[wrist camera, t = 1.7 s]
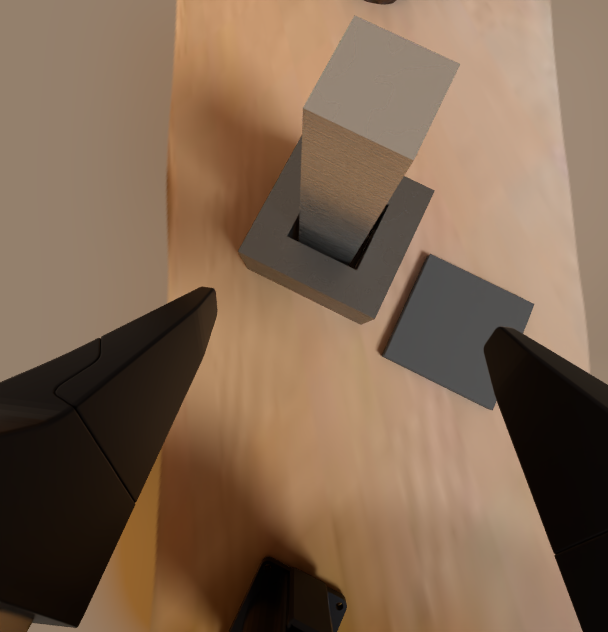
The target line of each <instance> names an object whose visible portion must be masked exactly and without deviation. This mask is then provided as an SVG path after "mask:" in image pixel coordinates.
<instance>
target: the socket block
mask: <svg viewBox="0 0 608 632" xmlns="http://www.w3.org/2000/svg"><path fill="white" fill-rule="evenodd" d="M301 155H302V136H301V138H300V140H299V141H298V143H297V145H296V147H295V149H294V151H293V152H292V154H291V156H290V158H289V160H288V161H287V163H286V165H285V167H284V169H283V171H282V172H281V174H280V176H279V178H278V180H277V181H276V183H275V185H274V187H273V189H272V191H271V192H270V194H269V196H268V198H267V200H266V201H265V203H264V205H263V207H262V209H261V211H260V212H259V214H258V216H257V218H256V220H255V221H254V223H253V225H252V227H251V229H250V231H249V232H248V234H247V236H246V238H245V240H244V241H243V243H242V245H241V247H240V249H239V251H238V252H239V254H240V256H241V258H242V259H243V261H244V263H245V265H246V266H247V268H248V269H249V270H251V271H253V272H255V273H257V274H259V275H262V276H264V277H266V278H268V279H270V280H272V281H274V282H276V283H278V284H280V285H282V286H284V287H286V288H288V289H290V290H292V291H294V292H296V293H298V294H300V295H302V296H304V297H306V298H308V299H310V300H312V301H314V302H316V303H318V304H320V305H322V306H324V307H326V308H328V309H330V310H332V311H334V312H336V313H338V314H340V315H342V316H344V317H346V318H348V319H350V320H352V321H355V322H357V323H359V324H364V323H366V322H369V321H371V320H373V319H375V317H376V315H377V313H378V311H379V309H380V307H381V304H382V302H383V300H384V298H385V296H386V294H387V292H388V289H389V287H390V285H391V283H392V281H393V279H394V277H395V274H396V272H397V270H398V268H399V266H400V264H401V262H402V259H403V257H404V255H405V253H406V251H407V249H408V247H409V244H410V242H411V240H412V238H413V236H414V234H415V232H416V229H417V227H418V225H419V223H420V221H421V219H422V217H423V214H424V212H425V210H426V208H427V206H428V204H429V202H430V199H431V197H432V195H433V193H434V190H432V189H430V188H428V187H426V186H424V185H422V184H420V183H418V182H415V181H413V180H411V179H409V178H407V177H405V176H404V177H403V178H402V180H401V182H400V183H399V185H398V186H397V188H396V190H395V191H394V193H393V195H392V196H391V198H390V199H389V201H388V203H387V204H386V206H385V208H384V209H383V211H382V212H381V214H380V216H379V217H378V219H377V220H376V222H375V224H374V225H373V227H372V229H373V231H372V233H371V235H370V237H369V240H368V242H367V244H366V246H365V248H364V250H363V252H362V254H361V256H360V258H359V260H358V262H357V264H356V266H355V268H354V269H353V268H351V267H349V266H347V265H345V264H343V263H341V262H338V261H336V260H334V259H332V258H330V257H328V256H326V255H324V254H322V253H320V252H318V251H316V250H314V249H312V248H310V247H308V246H306V245H304V244H302V243H300V242H298V241H297V239H298V237H299V218H300V186H301Z"/></svg>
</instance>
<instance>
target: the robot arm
mask: <svg viewBox="0 0 608 632" xmlns="http://www.w3.org/2000/svg"><path fill="white" fill-rule="evenodd" d="M216 317H217V300H216V291H215V289H214V288H209V287H199V288H197V289H195V290H193V291H191V292H189V293H187V294H185V295H183V296H181V297H179V298H177V299H175V300H174V301H172V302H170V303H168V304H166V305H164V306H162V307H160V308H158V309H156V310H154V311H152V312H150V313H148V314H146V315H144V316H142V317H140V318H138V319H136V320H134V321H132V322H130V323H128V324H126V325H124V326H122V327H120V328H118V329H116V330H114V331H112V332H110V333H107V334H106V335H104V336H102V337H101V338H97V339H95V340H94V341H92V342H89V343H87V344H85V345H83V346H81V347H79V348H77V349H75V350H73V351H71V352H69V353H67V354H65V355H62V356H60V357H58V358H56V359H53V360H51V361H49V362H47V363H44V364H42V365H40V366H37V367H35V368H33V369H30V370H28V371H26V372H23V373H21V374H18V375H16V376H14V377H11V378H9V379H7V380H4V381H2V382H0V632H27V631H28V629H29V627H30V625H31V624H32V623H39V624H47V625H57V626H64V627H73V628H77V627H78V626H79V624H80V622H81V620H82V618H83V616H84V614H85V612H86V610H87V607H88V605H89V603H90V601H91V598H92V597H93V594H94V592H95V590H96V588H97V586H98V584H99V581H100V579H101V577H102V575H103V573H104V571H105V569H106V566H107V564H108V562H109V560H110V558H111V556H112V554H113V551H114V549H115V547H116V545H117V543H118V541H119V538H120V536H121V534H122V532H123V530H124V528H125V526H126V523H127V521H128V519H129V517H130V515H131V512H132V510H133V508H134V506H135V502H136V501H137V499H138V497H139V495H140V493H141V491H142V488H143V486H144V484H145V482H146V480H147V478H148V476H149V473H150V471H151V469H152V467H153V465H154V463H155V461H156V458H157V456H158V454H159V452H160V450H161V448H162V445H163V443H164V441H165V439H166V437H167V435H168V433H169V430H170V428H171V426H172V424H173V422H174V420H175V417H176V415H177V413H178V411H179V409H180V407H181V405H182V402H183V400H184V398H185V396H186V394H187V392H188V389H189V387H190V385H191V383H192V381H193V379H194V377H195V374H196V372H197V370H198V368H199V366H200V364H201V361H202V359H203V357H204V354H205V351H206V348H207V345H208V342H209V339H210V336H211V332H212V329H213V326H214V323H215V320H216ZM484 356H485V360H486V364H487V368H488V372H489V376H490V380H491V384H492V387H493V391H494V394H495V397H496V400H497V403H498V406H499V408H500V411H501V414H502V416H503V419H504V422H505V424H506V427H507V430H508V432H509V435H510V438H511V440H512V443H513V446H514V448H515V451H516V454H517V456H518V459H519V462H520V464H521V467H522V470H523V472H524V475H525V478H526V480H527V483H528V486H529V488H530V491H531V494H532V496H533V499H534V502H535V504H536V507H537V510H538V512H539V515H540V518H541V520H542V523H543V526H544V528H545V531H546V534H547V536H548V539H549V542H550V545H551V547H552V550H553V552H554V554H555V559H556V561H557V564H558V567H559V569H560V572H561V575H562V577H563V580H564V583H565V585H566V588H567V591H568V593H569V596H570V599H571V601H572V604H573V607H574V609H575V612H576V615H577V618H578V620H579V623H580V626H581V628H582V631H583V632H608V385H607V384H605V383H604V382H602V381H600V380H599V379H597V378H595V377H594V376H592V375H590V374H589V373H587V372H586V371H584V370H582V369H581V368H579V367H577V366H576V365H574V364H572V363H571V362H569V361H567V360H566V359H564V358H562V357H561V356H559V355H557V354H556V353H554V352H552V351H551V350H549V349H547V348H546V347H544V346H542V345H541V344H539V343H537V342H536V341H534V340H532V339H531V338H529V337H527V336H526V335H524V334H522V333H521V332H519V331H517V330H516V329H514V328H511V327H503V326H500V327H497V328H496V329H495V330H494V332H493V333H492V335H491V336H490V337H489V339H488V340H487V342H486V343H485V345H484ZM267 564H268V565H270V566H271V567H270V568H266V567H265V565H267ZM339 602H341V603H342V604H341V605H339V606H338V605H336V604H337V603H339ZM346 608H347V604H346V599H345V597H344V596H343V595H342V594H340V593H339V592H337V591H335V590H333V589H331V588H329V587H327V586H326V584H325V583H323V582H321V581H319V580H317V579H316V578H314V577H312V576H310V575H308V574H306V573H304V572H302V571H300V570H298V569H297V568H291V567H289V566H287V565H285V564H283V563H281V562H280V561H278V560H276V559H274V558H272V557H265V558H264V559H263V560H262V562H261V564H260V566H259V568H258V570H257V572H256V574H255V577H254V579H253V581H252V583H251V585H250V587H249V589H248V592H247V594H246V596H245V598H244V600H243V602H242V604H241V607H240V609H239V611H238V613H237V615H236V617H235V619H234V622H233V624H232V626H231V628H230V630H229V632H337V630H338V628H339V626H340V623H341V621H342V619H343V616H344V614H345V611H346Z"/></svg>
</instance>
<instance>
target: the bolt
mask: <svg viewBox="0 0 608 632" xmlns="http://www.w3.org/2000/svg"><path fill="white" fill-rule="evenodd" d="M365 1H367V2H371V3H376V4H391V3H394V2H395V1H396V0H365Z"/></svg>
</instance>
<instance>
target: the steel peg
mask: <svg viewBox="0 0 608 632" xmlns="http://www.w3.org/2000/svg"><path fill="white" fill-rule="evenodd" d="M459 66H460V64H459V63H457V62H455V61H453V60H450V59H448V58H446V57H444V56H442V55H440V54H437V53H435V52H433V51H431V50H429V49H427V48H424V47H422V46H420V45H418V44H416V43H414V42H411V41H409V40H407V39H405V38H403V37H401V36H398V35H396V34H394V33H392V32H390V31H388V30H385V29H383V28H381V27H379V26H377V25H375V24H372V23H370V22H368V21H366V20H364V19H362V18H359V17H357V16H354V17H353V19H352V21H351V23H350V25H349V26H348V28H347V30H346V32H345V34H344V35H343V37H342V39H341V41H340V42H339V44H338V46H337V48H336V50H335V51H334V53H333V55H332V57H331V59H330V60H329V62H328V64H327V66H326V68H325V69H324V71H323V73H322V75H321V77H320V78H319V80H318V82H317V84H316V86H315V87H314V89H313V91H312V93H311V94H310V96H309V98H308V100H307V102H306V103H305V105H304V107H303V123H302V155H301V186H300V218H299V242H300V243H302V244H304V245H306V246H308V247H310V248H312V249H314V250H316V251H318V252H320V253H322V254H324V255H326V256H328V257H330V258H332V259H334V260H336V261H338V262H341V263H343V264H345V265H347V266H349V264H350V263H351V261H352V259H353V258H354V256H355V254H356V253H357V251H358V250H359V248H360V246H361V245H362V243H363V242H364V240H365V238H366V237H367V235H368V233H369V232H370V230H371V229H372V227H373V225H374V224H375V222H376V220H377V219H378V217H379V216H380V214H381V212H382V211H383V209H384V208H385V206H386V204H387V203H388V201H389V199H390V198H391V196H392V195H393V193H394V191H395V190H396V188H397V186H398V185H399V183H400V182H401V180H402V178H403V177H404V175H405V174H406V172H407V170H408V169H409V167H410V165H411V164H412V162H413V161H414V159H415V157H416V154H417V152H418V150H419V148H420V146H421V144H422V142H423V140H424V138H425V136H426V134H427V132H428V130H429V128H430V126H431V124H432V121H433V119H434V117H435V115H436V113H437V111H438V109H439V107H440V105H441V103H442V101H443V99H444V97H445V95H446V93H447V91H448V88H449V86H450V84H451V82H452V80H453V78H454V76H455V74H456V72H457V70H458V68H459Z"/></svg>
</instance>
